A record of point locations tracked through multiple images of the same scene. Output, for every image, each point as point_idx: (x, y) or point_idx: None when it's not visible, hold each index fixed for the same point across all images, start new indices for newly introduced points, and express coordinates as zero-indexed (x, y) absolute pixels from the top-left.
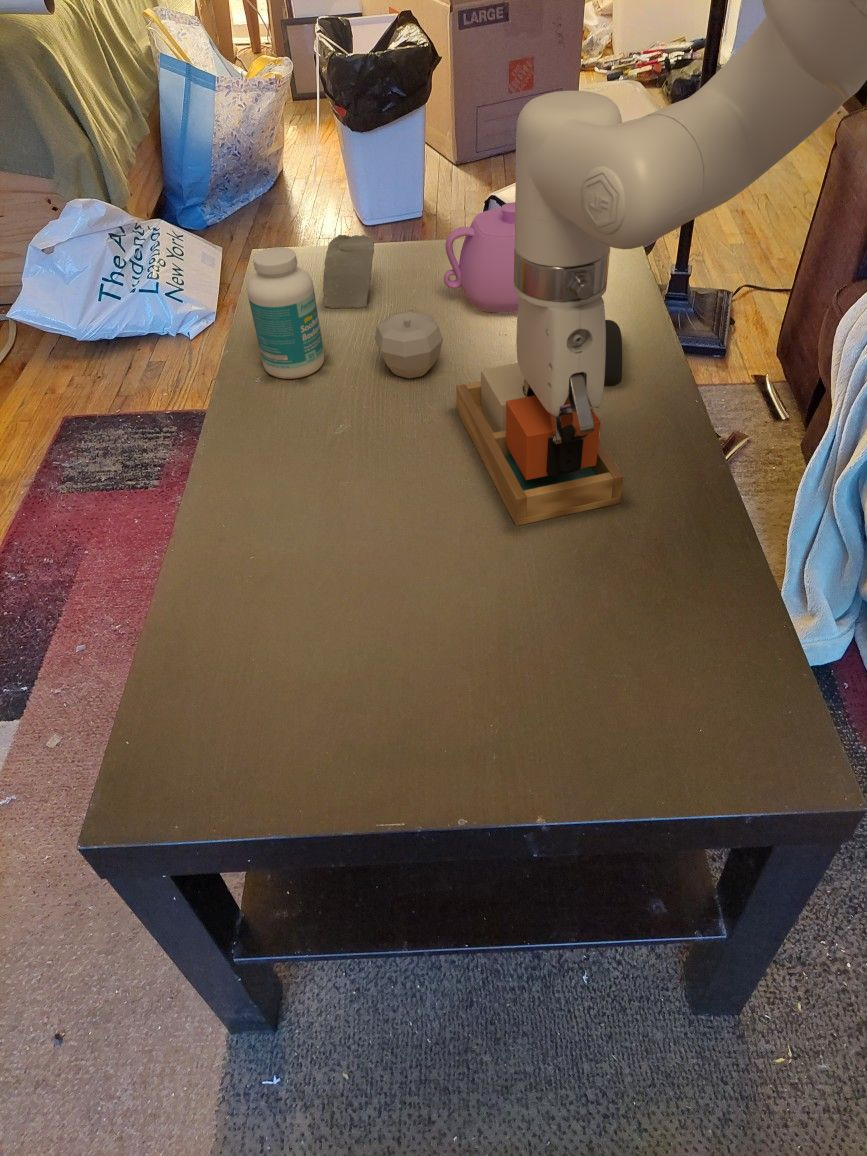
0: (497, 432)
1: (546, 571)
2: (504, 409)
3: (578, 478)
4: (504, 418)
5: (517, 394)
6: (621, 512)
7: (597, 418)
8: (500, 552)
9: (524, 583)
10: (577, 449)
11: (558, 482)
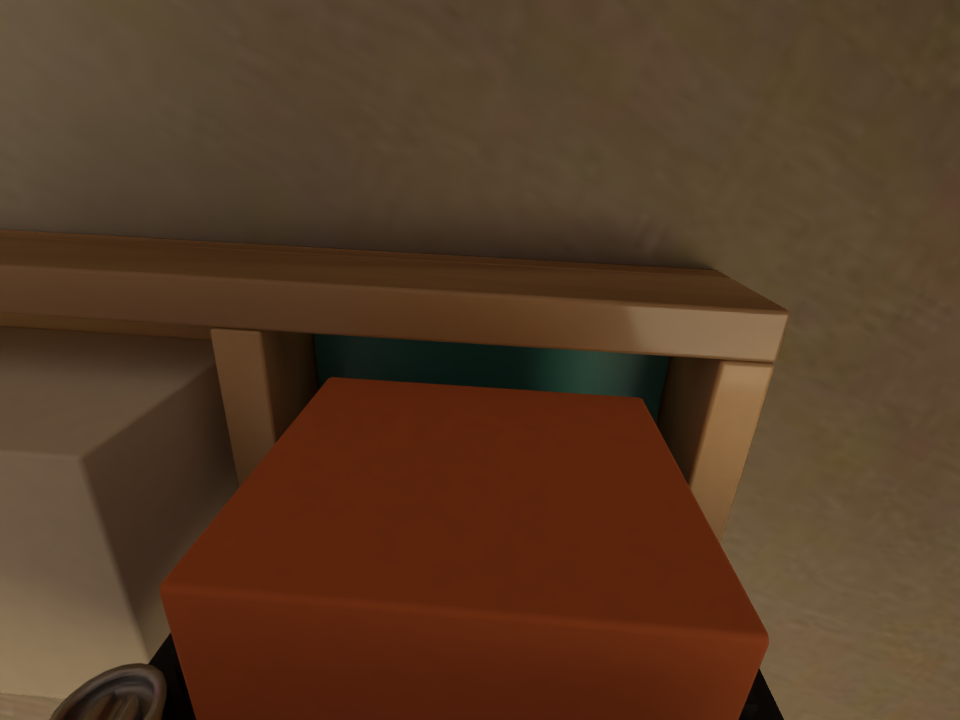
0: None
1: (854, 596)
2: None
3: (551, 387)
4: None
5: (72, 632)
6: (764, 289)
7: (718, 647)
8: None
9: (855, 650)
10: (761, 676)
11: None
